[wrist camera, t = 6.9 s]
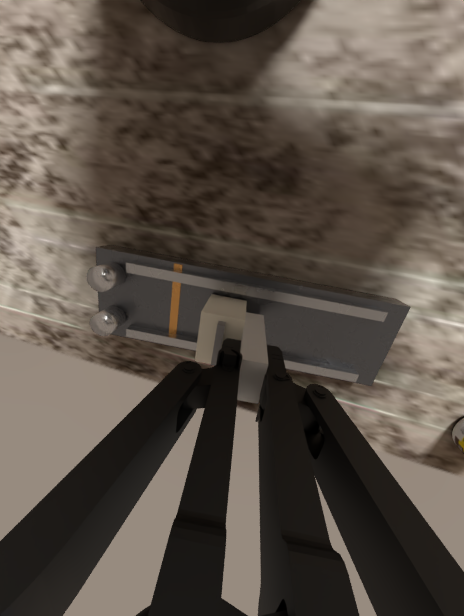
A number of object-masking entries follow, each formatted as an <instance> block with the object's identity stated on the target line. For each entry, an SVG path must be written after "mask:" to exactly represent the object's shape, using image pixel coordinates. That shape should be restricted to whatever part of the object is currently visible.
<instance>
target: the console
mask: <svg viewBox="0 0 464 616" xmlns="http://www.w3.org/2000/svg"><path fill="white" fill-rule="evenodd" d="M96 262H97V266H95V267H92V268H90V269H89V270H88V272H87V276H86V277H87V281H88V283H89V285H90V286H91V287H92V288H93V289H94V290H96V291H98V301H99V313H97V314H95V315H94V316H92V317H91V319H90V327H91V329H92V330H93V331H94V332H95V333H96V334H98V335H100V336H108V335H110V334H112V335H117V336H122V337H127V338H132V339H137V340H142V341H148V342H153V343H158V344H163V345H168V346H173V347H178V348H183V349H188V350H193V351H196V348H197V340H198V332H199V325H200V317H201V311H202V310H203V308H204V306H205V304H206V303H207V301H208V299H209V298H210V296H211V294H214V295H219V296H225V297H230V298H235V299H240V300H245V301H247V306H246V312H248V313H253V314H259V315H264V324H265V334H266V344H267V345H272V346H277V347H279V348H280V350H281V351H282V354H283V359H284V363H285V368H286V369H288V370H293V371H299V372H304V373H309V374H314V375H319V376H324V377H329V378H334V379H339V380H344V381H349V382H354V383H359V384H364V385H369V386H371V385H372V383H373V381H374V379H375V377H376V375H377V373H378V371H379V369H380V367H381V365H382V363H383V361H384V359H385V357H386V355H387V353H388V351H389V349H390V347H391V345H392V343H393V341H394V339H395V337H396V335H397V333H398V331H399V329H400V327H401V325H402V323H403V321H404V319H405V317H406V315H407V313H408V311H409V309H410V306H408V305H406V304H404V303H402V302H401V301H399V300H397V299H393V298H388V297H383V296H377V295H372V294H367V293H362V292H356V291H351V290H346V289H341V288H335V287H330V286H325V285H319V284H314V283H309V282H304V281H298V280H293V279H288V278H282V277H277V276H272V275H267V274H261V273H256V272H251V271H246V270H240V269H235V268H230V267H224V266H219V265H214V264H209V263H203V262H198V261H193V260H188V259H182V258H177V257H172V256H166V255H161V254H156V253H151V252H145V251H140V250H135V249H130V248H124V247H119V246H114V245H106V246H100V247H96Z"/></svg>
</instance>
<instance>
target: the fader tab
mask: <svg viewBox="0 0 464 616" xmlns="http://www.w3.org/2000/svg"><path fill="white" fill-rule="evenodd" d="M246 306H247V301H245V300H240V299H235V298H230V297H225V296H219V295H214V294H211V296H210V298H209V299H208V301H207V303H206V304H205V306H204V308H203V310H202V311H201V317H200V325H199V332H198V340H197V348H196V355H195V361H196V362H201V363H206V364H211V365H214V366H215V365H216V362H217V356H218V352H219V350H221V348H222V344H223V341H224V340H225V339H226V338H231V339H236V340H241V338H242V333H243V328H244V324H245V317H246Z"/></svg>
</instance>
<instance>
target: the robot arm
mask: <svg viewBox="0 0 464 616" xmlns="http://www.w3.org/2000/svg"><path fill="white" fill-rule="evenodd" d="M141 1H142V2H143V4H144V5H145V6H146V7H147V8H148V9H149V10H150V11H151V12H152V13H153V14H154V15H155V16H156V17H157V18H159V19H160V20H161V21H162V22H164V23H165V24H166V25H168V26H169V27H171V28H172V29H174V30H176V31H178V32H179V33H181V34H184V35H186V36H188V37H191V38H194V39H198V40H202V41H208V42H230V41H236V40H240V39H244V38H247V37H250V36H252V35H255V34H257V33H259V32H261V31H263V30H265V29H267V28H268V27H270V26H272V25H273V24H275V23H276V22H277V21H279V20H280V19H281V18H283V17H284V16H285V15H286V14H287V13H288V12H290V11H291V10H292V9H293V8H294V7H295V6H296V5H297V4H298V3H299V2H300V1H301V0H141ZM259 399H260V406H259V410H258V413H257V417H256V422H257V421H258V428H259V429H258V431H259V492H260V543H261V544H260V550H261V588H260V597H259V606H258V616H359V613H358V609H357V605H356V601H355V598H354V594H353V590H352V586H351V583H350V579H349V575H348V572H347V569H346V566H345V563H344V561H343V559H342V557H341V555H340V554H339V553H337V552H336V551H335V550H333V548H332V546H331V543H330V540H329V535H328V531H327V527H326V523H325V519H324V514H323V510H322V506H321V502H320V497H319V493H318V488H317V484H316V481H315V478H316V480H317V482H318V484H319V486H320V489H321V491H322V493H323V496H324V498H325V500H326V502H327V505H328V507H329V509H330V511H331V513H332V516H333V518H334V520H335V522H336V525H337V527H338V529H339V531H340V534H341V536H342V538H343V541H344V543H345V545H346V547H347V550H348V552H349V554H350V556H351V558H352V561H353V563H354V565H355V567H356V570H357V572H358V574H359V576H360V579H361V581H362V583H363V585H364V588H365V590H366V592H367V594H368V597H369V599H370V601H371V603H372V605H373V608H374V610H375V612H376V614H377V616H464V572H463V570H462V569H461V568H460V566H459V565H458V564H457V562H456V561H455V559H454V558H453V557H452V556H451V554H450V553H449V552H448V550H447V549H446V548H445V546H444V545H443V543H442V542H441V541H440V539H439V538H438V537H437V535H436V534H435V532H434V531H433V530H432V529H431V527H430V526H429V525H428V523H427V522H426V521H425V519H424V518H423V516H422V515H421V514H420V512H419V511H418V509H417V508H416V507H415V506H414V504H413V503H412V501H411V500H410V499H409V497H408V496H407V495H406V493H405V492H404V491H403V489H402V488H401V487H400V485H399V484H398V482H397V481H396V480H395V478H394V477H393V476H392V474H391V473H390V472H389V470H388V469H387V468H386V466H385V465H384V464H383V462H382V461H381V460H380V458H379V457H378V455H377V454H376V453H375V451H374V450H373V449H372V447H371V446H370V445H369V443H368V442H367V441H366V439H365V438H364V437H363V435H362V434H361V432H360V431H359V430H358V428H357V427H356V426H355V424H354V423H353V422H352V420H351V419H350V418H349V416H348V415H347V414H346V412H345V411H344V409H343V408H342V407H341V405H340V404H339V403H338V401H337V400H336V399H335V397H334V396H333V395H332V393H331V392H330V391H329V390H328V389H326V388H325V387H323V386H321V385H318V384H310V385H308V386H307V388H303V387H301V386H298V385H296V384H295V383H293V382H292V378H291V376H290V375H289V374H288V373H286V368H285V363H284V359H283V354H282V351H281V350H280V348H279V347H277V346H272V345H267V344H266V334H265V324H264V315H259V314H253V313H248V312H246V317H245V324H244V328H243V333H242V338H241V340H236V339H231V338H226V339H225V340H224V341H223V344H222V348H221V350H219V352H218V356H217V362H216V365H215V366H214V367H212V368H208V369H201V366H200V365H199V364H197V363H195V362H191V361H185V362H182V363H180V364H178V365H177V366H176V367H175V368H174V369H173V370H172V371H171V372H170V373H169V374H168V375H167V376H166V377H165V378H164V379H163V380H162V381H161V382H160V383H159V384H158V385H157V386H156V387H155V388H154V389H153V390H152V391H151V392H150V393H149V394H148V395H147V396H146V397H145V398H144V399H143V400H142V401H141V402H140V403H139V404H138V405H137V406H136V407H135V408H134V409H133V410H132V411H131V412H130V413H129V414H128V415H127V416H126V417H125V418H124V419H123V420H122V421H121V422H120V423H119V424H118V425H117V426H116V427H115V428H114V429H113V430H112V431H111V432H110V433H109V434H108V435H107V436H106V437H105V438H104V439H103V440H102V441H101V442H100V443H99V444H98V445H97V446H96V447H95V448H94V449H93V450H92V451H91V452H90V453H89V454H88V455H87V456H86V457H85V458H84V459H83V460H82V461H81V462H80V463H79V464H78V465H77V466H76V467H75V468H74V469H73V470H71V472H69V473H68V475H66V477H65V478H63V480H61V481H60V482H59V483H58V484H57V486H55V487H54V488H53V489H52V490H51V491H50V493H48V494H47V495H46V496H45V497H44V498H43V499H42V500H41V501H40V502H39V503H38V504H37V505H36V506H35V507H34V508H33V509H32V510H31V511H30V512H29V513H28V514H27V515H26V516H25V517H24V518H23V519H22V520H21V521H20V522H19V523H18V524H17V525H16V526H15V527H14V528H13V529H12V530H11V531H10V532H9V533H8V534H7V535H6V536H5V537H4V538H3V539H2V540H1V541H0V616H63V614H64V613H65V611H66V610H67V609H68V607H69V606H70V604H71V603H72V601H73V600H74V598H75V597H76V596H77V594H78V593H79V591H80V589H81V588H82V586H83V585H84V583H85V582H86V580H87V579H88V577H89V576H90V574H91V573H92V571H93V569H94V568H95V566H96V565H97V563H98V561H99V560H100V558H101V557H102V556H103V554H104V552H105V551H106V549H107V548H108V546H109V545H110V543H111V541H112V540H113V539H114V537H115V535H116V534H117V532H118V531H119V529H120V528H121V526H122V525H123V523H124V522H125V520H126V518H127V517H128V515H129V514H130V512H131V511H132V509H133V508H134V506H135V504H136V503H137V501H138V500H139V498H140V497H141V495H142V494H143V492H144V491H145V489H146V488H147V486H148V484H149V483H150V481H151V480H152V478H153V477H154V475H155V474H156V472H157V471H158V469H159V467H160V466H161V464H162V463H163V461H164V460H165V458H166V457H167V455H168V454H169V452H170V451H171V449H172V447H173V446H174V444H175V443H176V441H177V440H178V438H179V436H180V435H181V434H182V432H183V430H184V429H185V427H186V426H187V424H188V423H189V421H190V419H191V418H192V417H193V415H194V413H195V412H196V409H197V408H205V410H204V414H203V417H202V421H201V425H200V428H199V433H198V437H197V440H196V444H195V448H194V452H193V455H192V460H191V463H190V467H189V471H188V474H187V478H186V482H185V486H184V490H183V493H182V497H181V501H180V505H179V509H178V513H177V515H176V518H175V519H174V522H173V525H172V528H171V532H170V535H169V539H168V543H167V546H166V550H165V554H164V558H163V561H162V565H161V569H160V572H159V576H158V580H157V584H156V587H155V591H154V595H153V599H152V602H151V605H150V606H148V607H147V608H145V609H144V610H142V611H141V612H140V613H139V614H137V615H136V616H247V615H246V614H244V613H243V612H241V611H240V610H238V609H237V608H235V607H234V606H232V605H231V604H229V603H228V602H226V601H225V600H223V599H222V598H221V594H222V582H223V571H224V559H225V546H226V513H227V503H228V492H229V481H230V471H231V459H232V449H233V438H234V428H235V417H236V407H237V400H240V401H246V402H251V403H256V404H258V403H259ZM314 475H315V476H314Z"/></svg>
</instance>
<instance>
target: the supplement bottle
mask: <svg viewBox="0 0 464 616" xmlns="http://www.w3.org/2000/svg"><path fill="white" fill-rule="evenodd" d="M452 438H453V441H454V442H455V444H456V445H457V447H458V448H459V449H460V450H461V451H462V452H463V453H464V418H463V419H461V420H460V421H459V422H458V423H457V424H456V425H455V427H454V429H453V432H452Z"/></svg>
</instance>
